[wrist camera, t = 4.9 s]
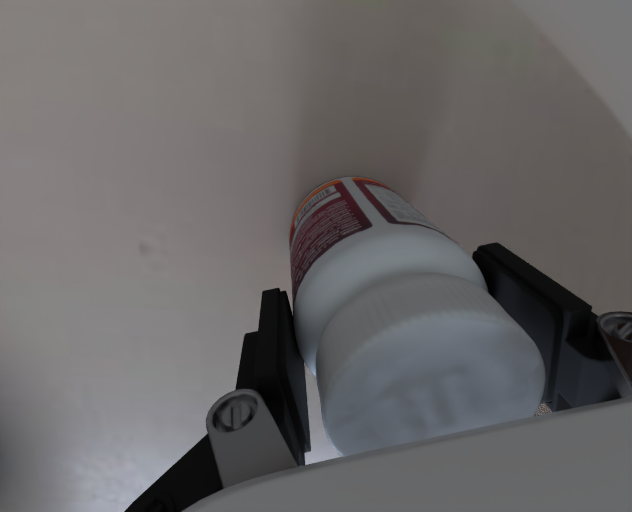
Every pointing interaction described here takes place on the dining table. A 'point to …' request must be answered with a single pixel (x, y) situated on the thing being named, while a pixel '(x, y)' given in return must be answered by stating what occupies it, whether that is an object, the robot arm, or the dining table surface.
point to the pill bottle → (400, 324)
